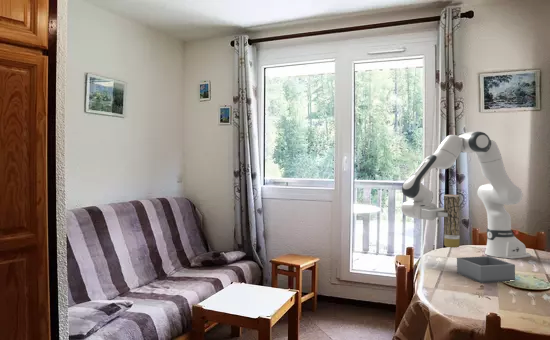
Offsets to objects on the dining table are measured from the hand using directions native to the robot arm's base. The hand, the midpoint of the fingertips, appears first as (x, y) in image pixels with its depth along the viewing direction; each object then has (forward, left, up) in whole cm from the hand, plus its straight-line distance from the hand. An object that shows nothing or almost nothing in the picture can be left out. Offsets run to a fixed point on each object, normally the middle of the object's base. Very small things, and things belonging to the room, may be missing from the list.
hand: (453, 214), depth 184 cm
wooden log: (0, -1, -16) cm, 16 cm away
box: (-4, +17, -26) cm, 31 cm away
